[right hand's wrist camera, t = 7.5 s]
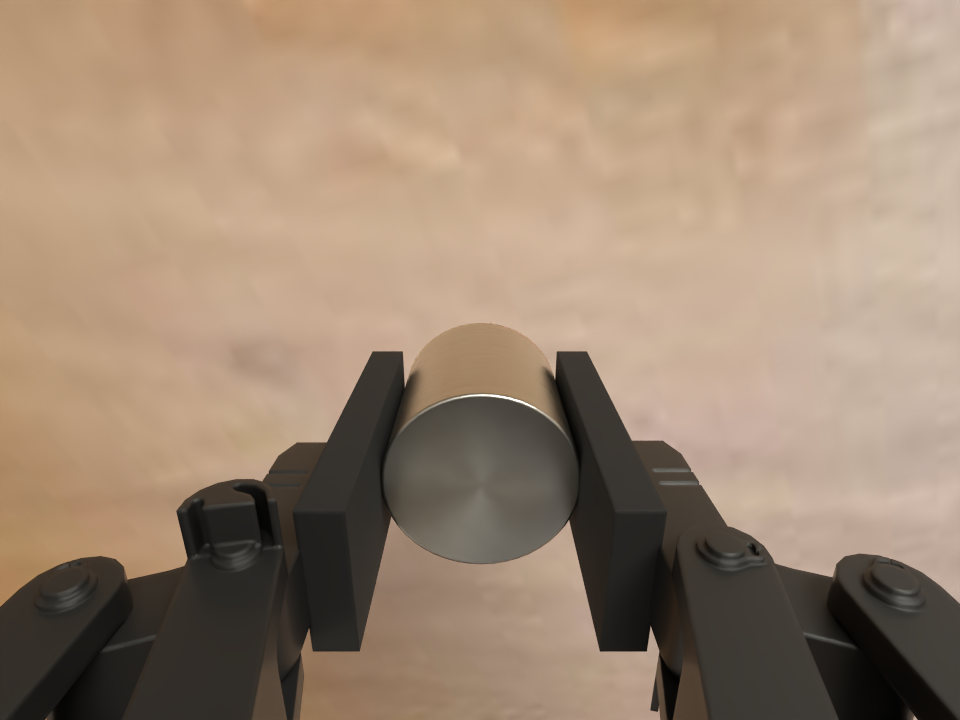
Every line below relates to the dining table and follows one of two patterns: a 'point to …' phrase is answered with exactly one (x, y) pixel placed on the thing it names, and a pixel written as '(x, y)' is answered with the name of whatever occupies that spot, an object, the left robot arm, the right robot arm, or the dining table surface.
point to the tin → (481, 449)
